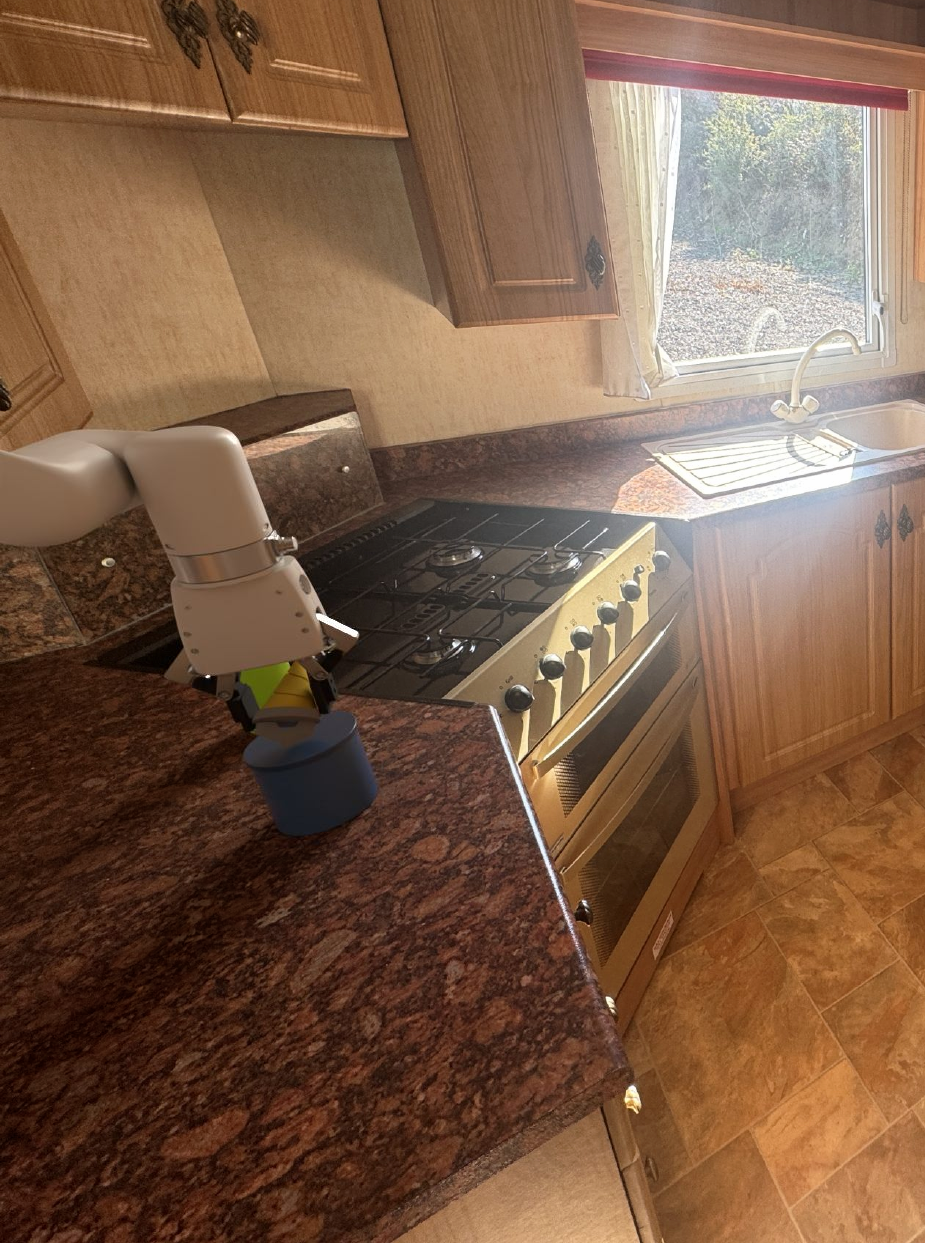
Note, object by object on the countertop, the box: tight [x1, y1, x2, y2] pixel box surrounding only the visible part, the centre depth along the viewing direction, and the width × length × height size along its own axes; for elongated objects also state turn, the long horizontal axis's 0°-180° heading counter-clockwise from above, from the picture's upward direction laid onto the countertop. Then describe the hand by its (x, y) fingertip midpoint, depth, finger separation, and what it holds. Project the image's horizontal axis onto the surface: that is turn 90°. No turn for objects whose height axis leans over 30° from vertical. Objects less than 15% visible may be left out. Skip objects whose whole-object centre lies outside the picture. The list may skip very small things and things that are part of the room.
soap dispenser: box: [241, 662, 291, 735], centre depth 92 cm, size 6×7×20 cm
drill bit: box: [252, 661, 322, 749], centre depth 76 cm, size 5×5×10 cm
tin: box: [242, 710, 380, 837], centre depth 80 cm, size 9×9×9 cm
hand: (291, 714), depth 77 cm, fingers closed on drill bit, 5 cm apart
